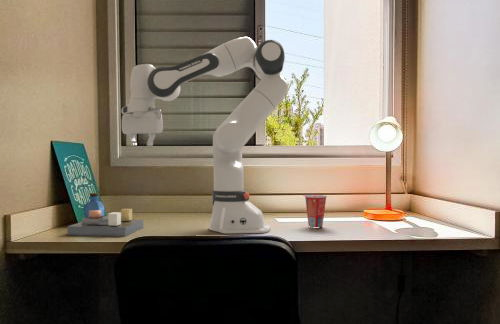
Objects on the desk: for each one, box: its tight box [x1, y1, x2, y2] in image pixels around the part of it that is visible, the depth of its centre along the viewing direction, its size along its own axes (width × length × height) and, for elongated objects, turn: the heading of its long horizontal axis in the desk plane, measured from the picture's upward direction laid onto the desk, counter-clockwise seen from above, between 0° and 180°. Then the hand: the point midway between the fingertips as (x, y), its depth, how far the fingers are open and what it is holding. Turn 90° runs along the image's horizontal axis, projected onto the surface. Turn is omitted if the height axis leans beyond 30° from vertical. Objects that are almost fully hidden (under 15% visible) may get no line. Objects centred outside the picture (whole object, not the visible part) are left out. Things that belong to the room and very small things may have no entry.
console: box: [67, 215, 144, 237], centre depth 130 cm, size 20×16×5 cm
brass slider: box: [120, 208, 133, 221], centre depth 134 cm, size 3×3×4 cm
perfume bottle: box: [82, 192, 106, 218], centre depth 146 cm, size 6×6×12 cm
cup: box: [301, 194, 328, 228], centre depth 140 cm, size 9×8×12 cm
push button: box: [89, 210, 101, 219], centre depth 129 cm, size 4×4×2 cm
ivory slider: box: [107, 211, 121, 226], centre depth 125 cm, size 3×3×4 cm
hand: (141, 145), depth 136 cm, fingers open, 8 cm apart
